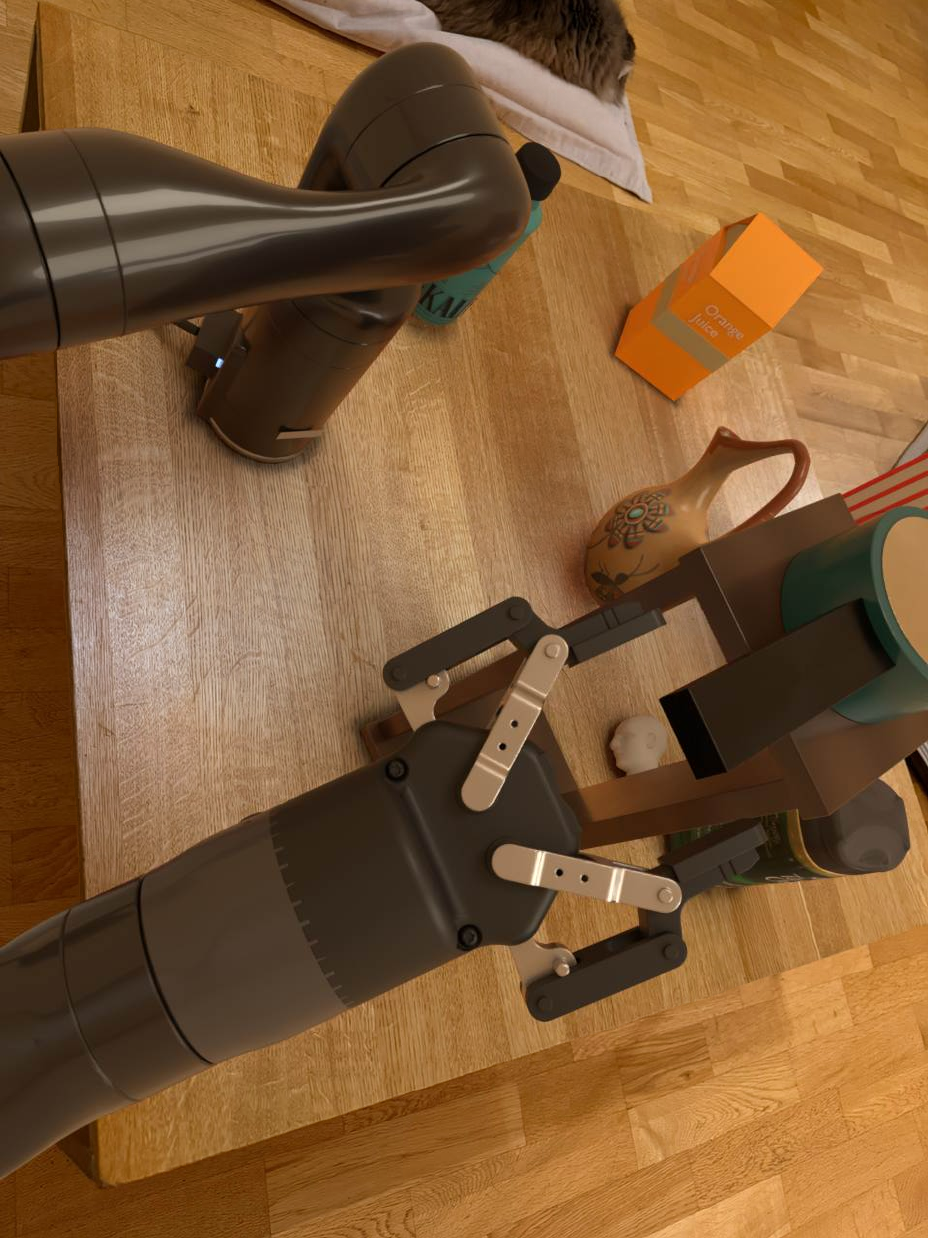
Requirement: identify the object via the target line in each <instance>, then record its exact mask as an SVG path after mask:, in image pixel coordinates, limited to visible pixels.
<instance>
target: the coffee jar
mask: <svg viewBox="0 0 928 1238" xmlns="http://www.w3.org/2000/svg"><path fill="white" fill-rule="evenodd" d="M750 819H754V820H759V821H760V823H761V825H762V827H763V829H764V831H765V833H766V835H767V837H768V840H767V841H766V842H765V843H763V844H762V845H760V846H758V847H756V848H755V849H756V851H757V853H758V856H759V860H758V861H757V862H756V863H755V864H754V865H753V866H752V868H751V869H749V870H747V871H745V872H743V873H741V874H739V875H737V876H735V877H733V878H731V879H729V880H726V881H724V882H723V883H721V884H719V885H717V886H715V887H713V888H712V889H733V888H743V887H753V886H761V885H762V886H763V885H764V886H765V885H775V884H787V883H788V884H789V883H796V882H797V883H798V882H808V881H817V880H818V881H819V880H826V879H827V880H828V879H836V878H837V879H838V878H846V877H857V876H864V875H869V874H876V873H886V872H891V871H893V870H895V869H896V868H898V866H900V865H901V863H902V862H903V860H904V859H905V858H906V856H907V854H908V852H909V851H910V850H911V846H912V845H911V838H910V827H909V822H908V816H907V809H906V805H905V802H904V799H903V797H901V796H900V795H898V793H897V792H896V790H894V789H893V788H892V787H891V786H890V785H889V784H888V783H887V782H886V781H883V780H882V779H881V778H878V779H877V780H875V781H874V782H873V783H872V784H870V785H869V786H868V787H866V788H865V789H864V790H862V791H861V792H860V793H858V794H857V795H856V796H854V797H853V798H852V799H850V800H849V801H848V802H846V803H845V804H844V805H842V806H841V807H840V808H838V809H837V810H836V811H835V812H833V813H832V814H831V815H829V816H824V817H818V818H813V819H807V820H803V819H802V817H801V815H800V813H799V811H798V809H796V810H791V811H785V812H780V813H775V814H770V815H764V816H759V817H754V818H750ZM729 823H731V822H727V823H722V824H717V825H712V826H706V827H701V828H696V829H690V830H685V831H680V832H675V833H669V834H668V844H669V852H670V851H673V850H675V849H677V848H679V847H681V846H683V845H685V844H687V843H689V842H691V841H693V840H695V839H698V838H700V837H702V836H704V835H706V834H708V833H710V832H712V831H714V830H716V829H718V828H720V827H723V826H725V825H727V824H729Z"/></svg>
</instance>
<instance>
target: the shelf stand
mask: <svg viewBox="0 0 928 1238" xmlns="http://www.w3.org/2000/svg"><path fill="white" fill-rule="evenodd" d="M856 525H857V524H856V522H855V520H854V518H853V516H852V514H851V512H850V510H849V508H848V507H847V505H846V503H845V501H844V499H843V497H842V493H841V492H837V493H835V494H832V495H830V496H829V495H828V496H827V497H824V498H822V499H821V498H820V499H819V500H816V501H814V502H811V503H809V504H806V505H803V506H800V507H798V508H796V509H794V510H791V511H787V512H785V513H782V514H780V515H776V516H775V517H774V518H772V519H770V520H767V521H764V522H762V523H759V524H757V525H754V526H752V527H749V528H746V529H744V530H741V531H739V532H736V533H733V534H731V535H728V536H726V537H723V538H720V539H718V540H715V541H713V542H710V543H708V544H705V545H702V546H700V547H698V548H696V549H694V550H692V551H690V552H688V553H686V554H685V555H683V556H681V557H679V558H678V561H679V563H680V565H679V566H677V567H675V568H673V569H671V570H669V571H667V572H665V573H663V574H661V575H660V576H658V577H656V578H654V579H652V580H650V581H648V582H646V583H644V584H642V585H640V586H639V587H637V588H635V589H633V590H631V591H629V592H627V593H625V594H623V595H621V596H619V597H618V598H616V599H614V600H612V601H610V602H608V603H606V604H604V605H602V606H598V607H596V608H595V609H593V610H591V611H589V612H587V613H585V614H583V615H581V616H579V617H578V618H575V619H573V620H572V621H570V622H568V623H566V624H564V625H562V626H560V627H558V628H557V629H565V628H568V627H571V626H573V625H575V624H577V623H580V622H582V621H584V620H586V619H588V618H591V617H593V616H595V615H597V614H600V613H602V612H604V611H606V610H609V609H611V608H613V607H615V606H617V605H620V604H622V603H624V602H640V604H641V606H642V609H643V611H644V613H647V612H650V611H652V610H654V609H656V608H660V610H661V612H662V614H665V613H667V612H669V611H671V610H673V609H674V608H677V607H679V606H681V605H683V604H686V603H687V602H689V601H692V600H694V599H696V601H697V603H698V605H699V607H700V609H701V611H702V613H703V615H704V617H705V620H706V622H707V624H708V626H709V628H710V630H711V632H712V634H713V636H714V638H715V641H716V642H717V645H718V646H719V649H720V651H721V653H722V655H723V657H724V659H725V661H726V664H727V663H729V662H731V661H732V660H734V659H736V658H738V657H740V656H742V655H744V654H746V653H748V652H750V651H752V650H754V649H756V648H758V647H759V646H761V645H763V644H765V643H767V642H769V641H771V640H773V639H775V638H777V637H779V636H781V635H783V634H785V630H784V626H783V620H782V613H781V590H782V584H783V579H784V576H785V573H786V571H787V569H788V567H789V565H790V563H791V562H792V561H793V559H794V558H795V557H796V556H797V555H798V554H799V553H800V552H802V551H804V550H805V549H807V548H809V547H811V546H814V545H816V544H818V543H820V542H822V541H824V540H826V539H828V538H831V537H833V536H835V535H837V534H839V533H841V532H843V531H846V530H848V529H850V528H852V527H854V526H856ZM524 659H525V656H524V655H523V654H522V653H521V652H520V651H519V650H518V649H516V650H515V651H512V652H511V653H509V654H507V655H505V656H503V657H501V658H499V659H497V660H495V661H493V662H491V663H490V664H487V665H485V666H484V667H482V668H480V669H478V670H475V671H474V672H473V673H471V674H468V675H467V676H465V677H462V678H461V679H459V680H457V681H455V682H452V683H451V684H449V688H448V690H447V692H446V693H445V694H444V695H443V696H442V697H441V698H439V699H438V700H437V701H436V703H435V705H434V717H435V719H436V720H447V721H452V722H456V723H461V724H466V725H471V726H476V727H480V728H485V729H486V728H487V726H488V724H489V723H490V721H491V719H492V717H493V715H494V713H495V711H496V709H497V708H498V706H499V704H500V702H501V700H502V698H503V696H504V695H505V693H506V691H507V690H508V688H509V687H510V685H511V683H512V681H513V679H514V677H515V676H516V674H517V672H518V670H519V668H520V666H521V664H522V662H523V661H524ZM359 730H360V733H361V736H362V738H363V739H364V742H365V744H366V747H367V749H368V751H369V753H370V756H371V758H372V760H373V761H372V762H374V761H376V760H378V759H380V758H383V757H385V756H387V755H389V754H391V753H394V752H396V751H397V750H399V749H400V748H401V747H402V746H403V745H404V744H405V743H406V742H407V741H408V740H409V739H410V737H411V736H412V734H413V733H414V731H413V729H412V727H411V725H410V723H409V721H408V719H407V717H406V715H405V713H404V712H403V710H402V708H401V709H399V710H396V711H394V712H391V713H389V714H387V715H384V716H382V717H380V718H377V719H375V720H373V721H370V722H368V723H366V724H363V725H362V726H360V727H359ZM527 739H529V740H531V741H533V742H534V743H536V744H537V745H538V746H539V747H540V748H541V749H542V750H543V751H546V752H547V754H548V757H549V759H550V761H551V763H552V765H553V768H554V770H555V774H556V780H557V785H558V791H559V794H560V796H561V797H562V798H563V799H564V800H565V802H566V803H567V804H568V805H569V807H570V808H571V809H572V810H573V812H574V814H575V816H576V818H577V820H578V822H579V825H580V827H581V829H582V832H580V849H579V851H585V850H589V849H595V848H600V847H606V846H610V845H617V844H621V843H627V842H631V841H637V840H643V839H647V838H653V837H657V836H663V835H664V836H665V835H669V833H675V832H680V831H685V830H690V829H696V828H701V827H706V826H712V825H717V824H722V823H727V822H733V821H735V820H738V819H742V818H754V817H759V816H764V815H770V814H775V813H780V812H785V811H791V810H796V809H798V811H799V813H800V815H801V817H802V819H803V820H807V819H813V818H818V817H824V816H829V815H831V814H832V813H833V812H835V811H836V810H837V809H838V808H840V807H841V806H842V805H844V804H845V803H846V802H848V801H849V800H850V799H852V798H853V797H854V796H856V795H857V794H858V793H860V792H861V791H862V790H864V789H865V788H866V787H868V786H869V785H870V784H872V783H873V782H874V781H875V780H877V779H880V778H881V777H882V776H884V775H885V774H886V773H887V772H889V771H890V770H892V769H893V768H894V767H895V766H896V765H898V764H899V763H901V762H902V761H903V760H905V759H906V758H908V757H909V756H910V755H911V754H913V753H914V752H915V751H917V750H918V749H919V748H920V747H922V746H923V745H924V744H926V743H927V742H928V710H927V711H923V712H919V713H915V714H911V715H907V716H904V717H900V718H896V719H892V720H888V721H884V722H881V723H876V724H866V723H860V722H857V721H854V720H851V719H849V718H847V717H845V716H843V715H841V714H840V713H838V712H837V711H835V710H834V709H832V708H829V709H827V710H826V711H824V712H823V713H821V714H820V715H818V716H816V717H815V718H813V719H812V720H810V721H809V722H807V723H805V724H804V725H802V726H801V727H799V728H797V729H796V730H794V731H793V732H791V733H790V734H788V735H786V736H785V737H783V738H782V739H780V740H778V741H777V742H775V743H774V744H772V745H771V746H769V747H767V748H766V749H764V750H763V751H761V752H759V753H758V754H756V755H755V756H753V757H752V758H750V759H748V760H747V761H745V762H744V763H742V764H740V765H739V766H737V767H736V768H734V769H733V770H731V771H729V772H727V773H723V774H719V775H715V776H711V777H707V778H703V779H699V780H696V779H695V776H694V774H693V772H692V770H691V768H690V766H689V764H688V761H687V759H686V758H685V759H683V760H679V761H675V762H673V763H672V762H671V763H667V764H664V765H661V766H658V768H654V769H650V770H647V771H643V772H639V773H636V774H632V775H629V776H626V775H625V776H622V777H618V778H615V779H611V780H608V781H604V782H600V783H597V784H593V785H589V786H585V787H582V788H579V787H578V784H577V782H576V779H575V778H574V776H573V774H572V771H571V768H570V766H569V765H568V762H567V760H566V758H565V756H564V754H563V751H562V750H561V747H560V745H559V742H558V740H557V739H556V736H555V734H554V732H553V730H552V727H551V725H550V722H549V721H548V718H547V717H546V714H545V712H544V710H543V709H542V710H541V712H540V714H539V715H538V717H537V719H536V721H535V723H534V725H533V727H532V729H531V731H530V732H529V734H528V736H527Z"/></svg>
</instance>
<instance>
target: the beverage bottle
mask: <svg viewBox="0 0 928 1238" xmlns="http://www.w3.org/2000/svg"><path fill="white" fill-rule="evenodd" d="M514 153H515V156H516V158H517V160H518V162H519V164H520V167H521V169H522V172H523V174H524V177H525V179H526V182H527V185H528V189H529V193H530V197H531V213H530V219H529V222H528V224H527V227H526V229H525V231H524V232H523V234H522V235H521V237H520V238H519V239H518V240H517V241H516V243H515V244H514V245H513V246H511V247H510V248H509V249H508V250H506V251H505V252H504V253H502V254H501V255H500V256H498V257H497V258H495V259H494V260H492V261H490V262H489V263H487V264H485V265H482V266H480V267H478V268H475V269H473V270H471V271H468V272H466V273H463V274H460V275H457V276H453V277H450V278H446V279H443V280H439V281H434V282H429V283H423V284H422V285H421V292H420V296H419V300H418V302H417V305H416V307H415V309H414V311H413V312H412V314H413V315H414V316H416V317H417V318H418V319H420V320H421V321H423V322H425V323H426V324H428V325H432V326H436V327H442V326H443V327H444V326H447V325H449V324H450V325H451V324H453V323H454V322H457V321H458V319H459V318H461V317H462V316H463V315H464V314H465V312H466V311H468V309H469V308H470V307H471V306H472V305H473V304H474V303H475V302H476V300H478V298H479V296H481V294H483V292H484V290H485V289H486V288H487V286H489V285H490V283H491V282H492V280H493V279H494V278H495V277H496V276H497V275H501V270H502V269H503V267H504V266H505V265H506V264H507V262H509V260H510V259H511V258H512V257H513V256H514V255H515V253H516V252H517V251H518V250H519V249H520V248H521V247H522V245H523V244H524V243H525V242H526V241H527V240H528V239H529V238H530V236H531V235H532V234H533V233H534V232H536V231H537V230H538V228H539V227H540V226H541V224H542V220H543V216H544V215H543V205H542V202H543V201H545V200H547V199H548V198H549V197H550V195H551V194H552V193H553V190H554V189H555V188H556V186H557V184H558V183H559V182H560V180H561V177H562V168H561V164H560V163H559V161H558V159H557V157H556V155H555V154H554V153H553V152H552V151H551V150H550V149H549V148H547V147H546V146H544V145H543V144H541V143H539V142H537V141H536V142H535V141H528V142H525V143H524V144H523V145H522V146H520V148H518V150H517V151H516V152H514Z"/></svg>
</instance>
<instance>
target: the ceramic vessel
mask: <svg viewBox="0 0 928 1238" xmlns="http://www.w3.org/2000/svg"><path fill="white" fill-rule="evenodd" d="M786 454H792V455H793V460H794V464H793V465H794V466H793V469H792V472H791V474H790V477H789V479H788V481H787V482H786V484H785V485H784V486H783V487H782V488H781V489H780V491H778V493H777V494H776V495H775V496H773V498H771V499H770V500H769V501H768V502H767V503H766V504H765V505H763V507H760V509H759V510H757V511H756V512H755V513H754V514H752V515H751V516H750V517H748V518H747V519H746V520H744V521H743V522H742V523H740V524H738V525H737V526H736V527H734V528H732V529H731V530H729V531H726V532H725V533H724V534H721V535H720V536H718V537H716V538H714V539H711V527H710V523H709V519H708V515H709V510H710V507H711V505H712V504H713V503H712V502H713V501H714V499H715V497H716V495H717V494H718V492H719V491H720V489H721V488H722V487H723V485H724V484H725V482H726V481H727V480H728V478H729V477H731V474H732V473H733V472H735V471H737V470H739V469H741V468H744V467H746V466H749V465H751V464H752V465H753V464H755V463H757V462H760V461H763V460H765V459H770V458H773V457H776V456H780V455H786ZM811 463H812V460H811V456H810V452H809V449H808V448H807V446H806V444H804V442H803V441H801V440H798V439H795V438H786V439H778V440H768V441H759V440H757V441H756V440H745V439H742V438H741V436H739V435H738V434H737V433H735V432H734V431H732V430H731V429H730V428H727V427H726V426H723V425H719V426H718V427H717V429H716V431H715V432H714V434H713V436H712V438H711V440H710V442H709V444H708V446H707V447H706V449H705V451H704V453H702V455H701V457H700V458H699V460H698V461H697V462H696V463H695V464H694V466H692V467H691V468H690V469H689V470H688V471H687V472H686V473H684V474H683V475H682V476H680V477H678V478H677V479H675V480H673V481H670V482H667V483H664V484H663V483H662V484H656V485H650V486H646V487H642V488H639V489H637V490H635V491H631V492H630V493H629V494H627V495H625V496H624V497H621V499H619V500H618V501H617V502H615V503H614V504H613V505H612V506H611V507H609V508H608V510H607V511H606V512H605V513H604V514H603V515H602V516H601V518H600V519H599V520H598V522H597V523H596V525H595V527H594V528H593V530H592V532H591V534H590V537H589V539H588V540H587V544H586V547H585V551H584V557H583V577H584V578H583V579H584V582H585V586H586V588H587V591H588V593H589V595H590V597H591V599H592V600H593V601H594V603H596V604H597V606H598V607H600V606H602V605H604V604H606V603H608V602H610V601H612V600H614V599H616V598H618V597H619V596H621V595H623V594H625V593H627V592H629V591H631V590H633V589H635V588H637V587H639V586H640V585H642V584H644V583H646V582H648V581H650V580H652V579H654V578H656V577H658V576H660V575H661V574H663V573H665V572H667V571H669V570H671V569H673V568H675V567H677V566H679V565H680V563H679V561H678V558H679V557H681V556H683V555H685V554H686V553H688V552H690V551H692V550H694V549H696V548H698V547H700V546H702V545H705V544H708V543H710V542H713V541H715V540H718V539H720V538H723V537H726V536H728V535H731V534H733V533H736V532H739V531H741V530H744V529H746V528H749V527H752V526H754V525H757V524H759V523H762V522H764V521H767V520H770V519H772V518H775V517H777V516H778V515H779V513H780V512H782V511H783V510H784V509H785V508H786V507H787V506H788V505H789V504H790V503H791V502H792V501H793V500H794V499H795V498H796V496H797V495H798V494H799V493H800V491H801V490H802V489H803V486H804V485H805V483H806V481H807V477H808V474H809V471H810V468H811V467H810V466H811Z"/></svg>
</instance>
